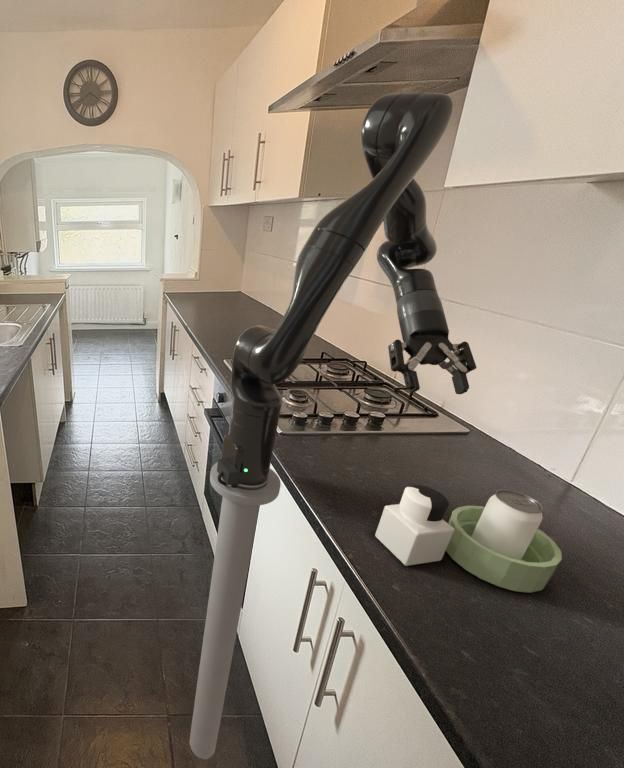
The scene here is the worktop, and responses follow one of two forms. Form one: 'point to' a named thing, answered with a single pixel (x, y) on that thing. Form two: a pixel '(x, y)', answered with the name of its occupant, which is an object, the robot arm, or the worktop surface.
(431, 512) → the medicine bottle
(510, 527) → the can
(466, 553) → the shallow round dish
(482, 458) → the worktop surface
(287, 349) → the robot arm
